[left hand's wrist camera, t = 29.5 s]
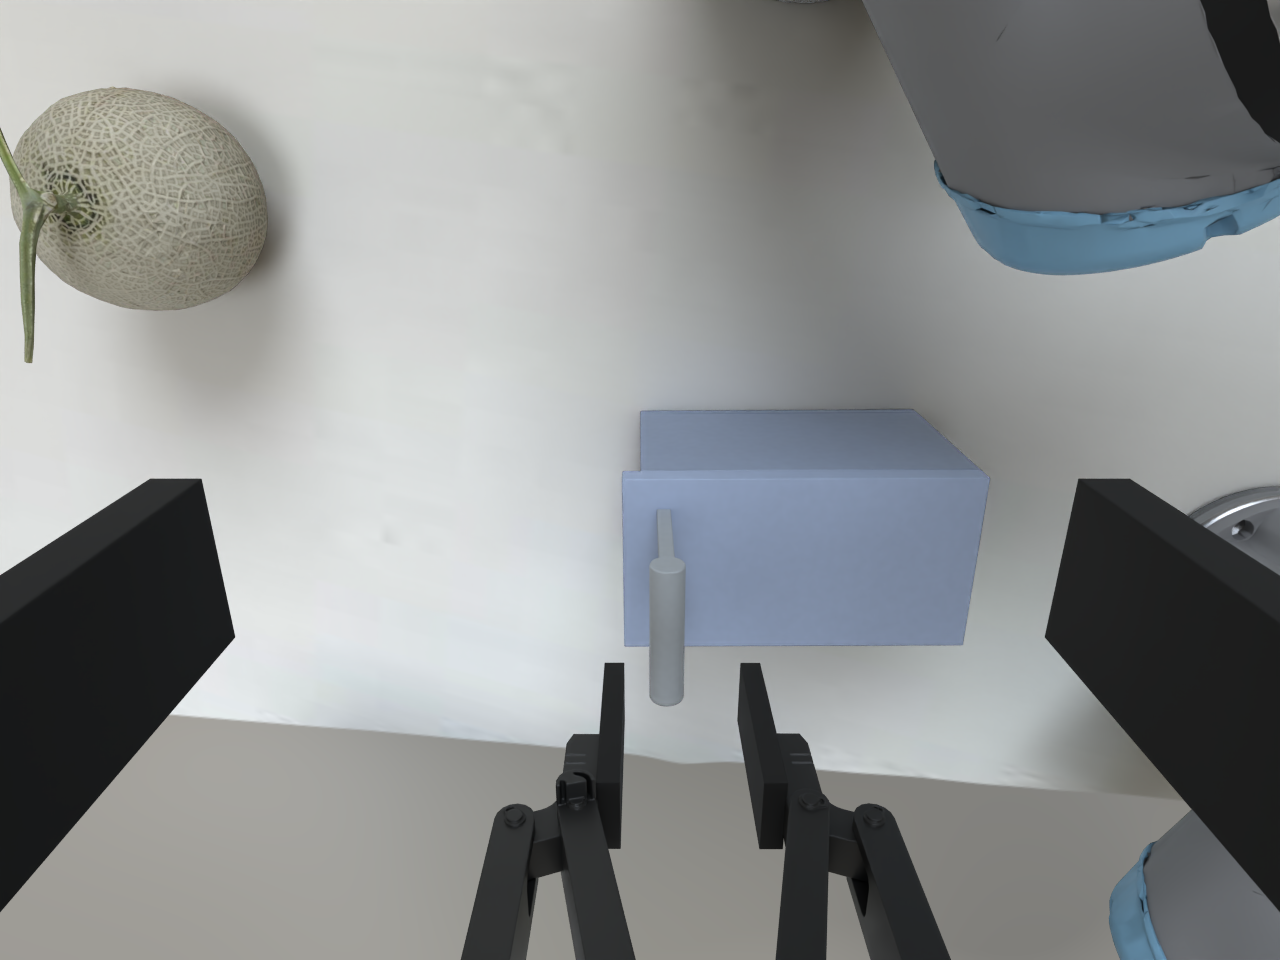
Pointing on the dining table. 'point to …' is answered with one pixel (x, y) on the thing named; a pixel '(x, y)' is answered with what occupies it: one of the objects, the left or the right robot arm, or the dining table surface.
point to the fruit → (133, 202)
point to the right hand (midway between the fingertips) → (681, 692)
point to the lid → (795, 560)
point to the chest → (794, 441)
